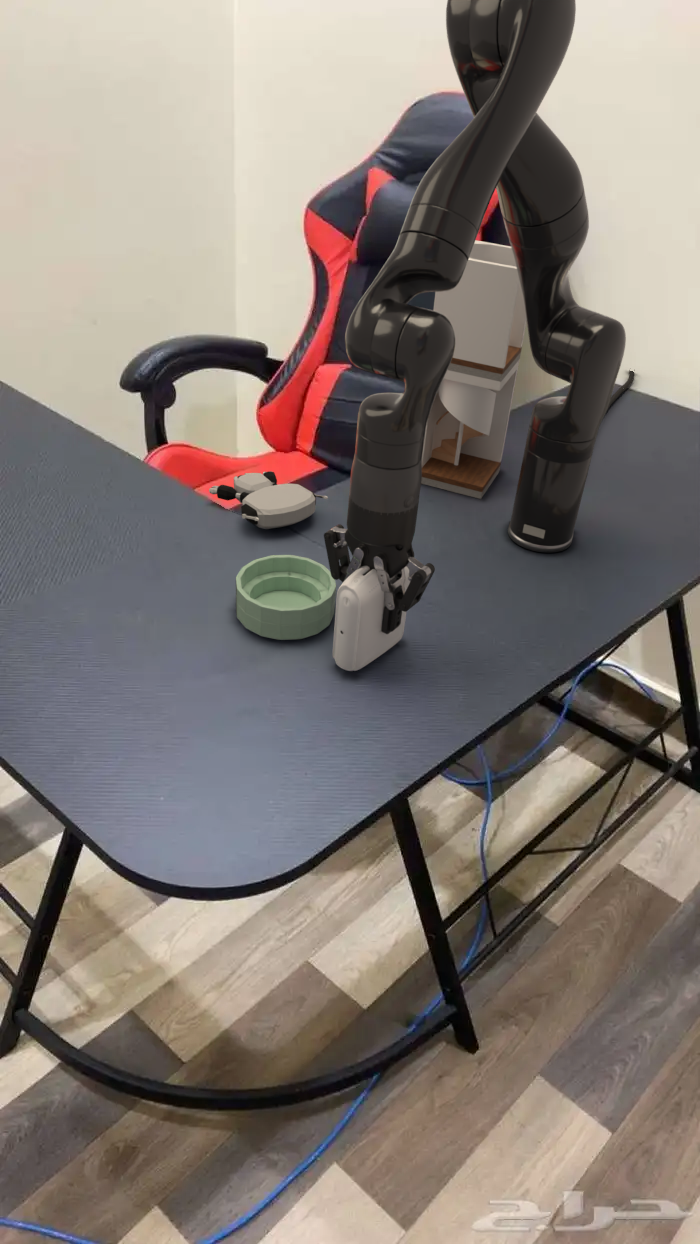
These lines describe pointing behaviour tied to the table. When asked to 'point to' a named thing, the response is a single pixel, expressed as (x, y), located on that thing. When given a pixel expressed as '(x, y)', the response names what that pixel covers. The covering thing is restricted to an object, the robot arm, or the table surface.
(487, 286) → the white tower
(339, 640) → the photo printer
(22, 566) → the table surface
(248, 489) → the robot toy
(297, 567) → the bowl
